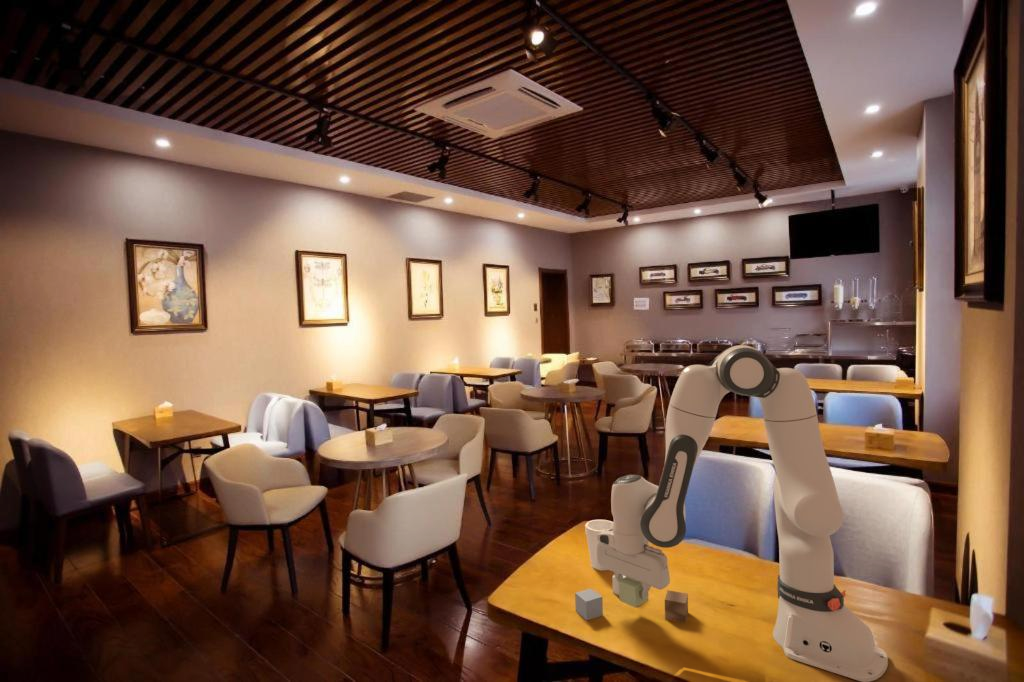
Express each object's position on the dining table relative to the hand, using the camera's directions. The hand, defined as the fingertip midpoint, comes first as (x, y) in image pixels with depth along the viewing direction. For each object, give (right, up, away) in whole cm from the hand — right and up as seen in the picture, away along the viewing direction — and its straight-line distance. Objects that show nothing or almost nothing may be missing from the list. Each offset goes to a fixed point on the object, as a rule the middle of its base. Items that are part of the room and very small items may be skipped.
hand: (633, 593), depth 137 cm
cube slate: (-11, -6, +2) cm, 13 cm away
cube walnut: (+11, -5, 0) cm, 12 cm away
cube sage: (0, -2, 0) cm, 2 cm away
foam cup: (-3, -5, +27) cm, 28 cm away
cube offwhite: (0, -5, +12) cm, 13 cm away
